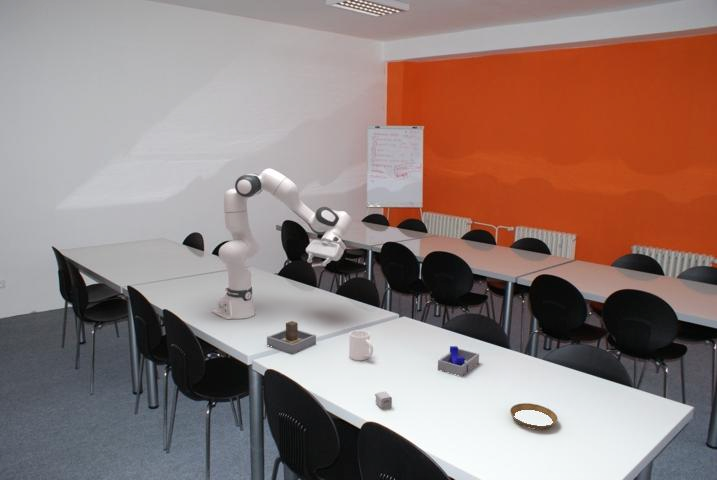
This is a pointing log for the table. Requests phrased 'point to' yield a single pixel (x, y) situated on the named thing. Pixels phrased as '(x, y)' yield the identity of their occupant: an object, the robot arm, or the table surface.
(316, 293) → the table surface
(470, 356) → the desk organiser frame
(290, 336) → the oak scraper block
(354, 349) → the mug
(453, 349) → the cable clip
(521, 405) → the brown ring
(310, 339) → the box
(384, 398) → the usb wall charger
